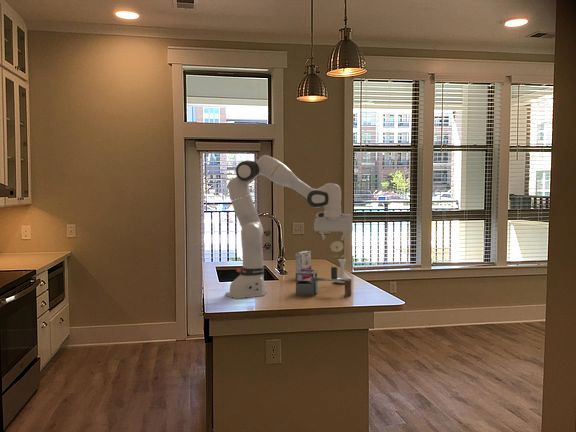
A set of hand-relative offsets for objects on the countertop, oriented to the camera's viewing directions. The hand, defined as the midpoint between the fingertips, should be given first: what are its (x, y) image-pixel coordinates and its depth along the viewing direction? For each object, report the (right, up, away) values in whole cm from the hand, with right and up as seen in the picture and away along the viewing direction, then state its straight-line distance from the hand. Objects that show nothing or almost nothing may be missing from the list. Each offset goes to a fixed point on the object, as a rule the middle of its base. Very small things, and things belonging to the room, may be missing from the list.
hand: (333, 239), depth 265 cm
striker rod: (-2, -28, +1) cm, 28 cm away
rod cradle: (+8, -29, -1) cm, 30 cm away
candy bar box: (-14, -27, +52) cm, 60 cm away
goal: (-14, -29, +4) cm, 32 cm away
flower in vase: (+8, -27, +33) cm, 44 cm away
